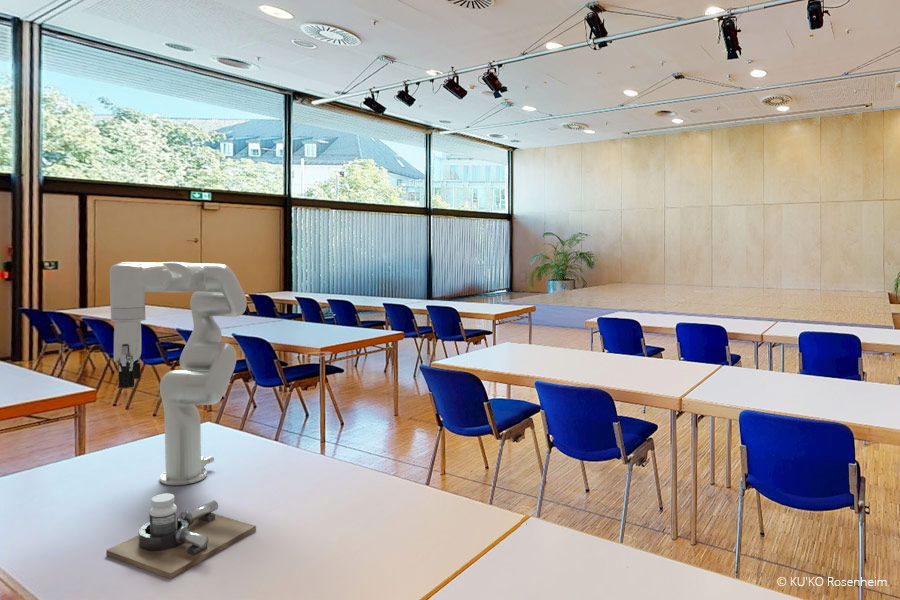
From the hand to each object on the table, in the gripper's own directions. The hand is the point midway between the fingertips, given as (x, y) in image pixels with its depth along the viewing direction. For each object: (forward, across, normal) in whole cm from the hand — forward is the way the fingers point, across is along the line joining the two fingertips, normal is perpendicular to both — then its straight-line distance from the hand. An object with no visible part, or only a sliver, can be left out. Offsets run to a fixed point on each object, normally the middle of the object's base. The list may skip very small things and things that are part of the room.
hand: (130, 382), depth 151 cm
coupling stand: (+33, +20, +13) cm, 41 cm away
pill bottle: (+32, +20, +9) cm, 39 cm away
